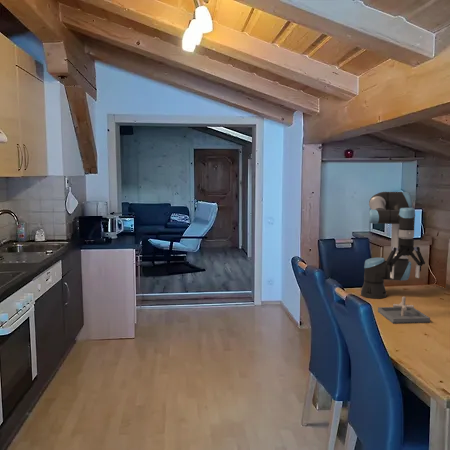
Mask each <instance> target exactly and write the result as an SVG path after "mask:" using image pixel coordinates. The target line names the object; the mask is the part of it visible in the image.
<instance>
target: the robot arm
mask: <svg viewBox="0 0 450 450" xmlns="http://www.w3.org/2000/svg"><path fill="white" fill-rule="evenodd" d="M411 196H412V195H411V193H409V192H408V191H381V192H377V193H375V194H374V195H373V196H372V197H371V198H370V199H369V203H368V205H369V208H370V210H369V212H368V221H369V223H370V224H375V225H378V224H379V225H380V224H381V225H382V224H385V225H390V226H391V228H390V234H391V238H390V253H389V255H388V257H387V258H386V260H385V258H384V257H371V258H368V259H365V261H364V266H363V268H364V275H363V278H364V279H363V285H362V287H361V290H360V295H361V297H364V298H368V299H375V300H376V299H385V298H387V290H386V287H385V283H384V282H385V280H387V281H390V280H391V281H408V280H409V278H410V276H411V270H412V261H409V256H410V257H411V258H412V259H413V261H414V263H416V264H415V273H414V274H415V278H416V279H420V272H422V266H423V265H425V264H426V262H425V258H424V257H423V255H422V253H421V249H420V247H419V246H414V244H415V239H414V238H415V223H416V221H415V220H416V219H415V217H416V209H415V208H414V207H413V202H412V197H411ZM414 251H415V253H416V255H415V254H414Z"/></svg>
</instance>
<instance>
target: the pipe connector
mask: <svg viewBox="0 0 450 450" xmlns="http://www.w3.org/2000/svg"><path fill="white" fill-rule="evenodd" d="M406 298H407V297H406V296H402V297H401V302H399V303H393V304H392V307H398V308H401V316H405V311H406V310H407V308H412V309H414V308H415V307H414V304H406Z"/></svg>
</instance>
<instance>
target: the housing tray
mask: <svg viewBox="0 0 450 450" xmlns="http://www.w3.org/2000/svg"><path fill="white" fill-rule="evenodd" d="M377 313H379V314H380V315H381V316H383V317H384V318H385V319H387V320H388V321H389V322H390V323H391V324H393V325H397V324H398V325H400V324H401V325H403V324H430V323H431V317H429V316H427V314H425V313H423V312H421V311H420V310H419V309H416V308H415V307H414V309H412V308H407V310H406V311H405V316H401V308H398V307H393V306H385V307H383V306H382V307H381V306H380V307H377Z"/></svg>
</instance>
